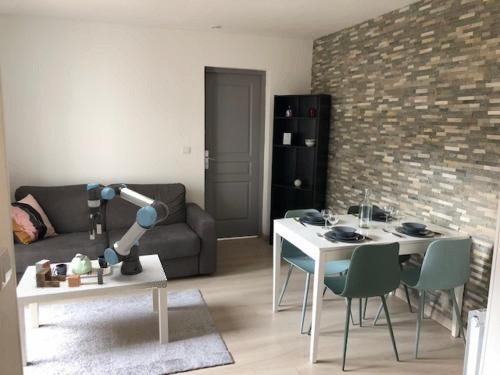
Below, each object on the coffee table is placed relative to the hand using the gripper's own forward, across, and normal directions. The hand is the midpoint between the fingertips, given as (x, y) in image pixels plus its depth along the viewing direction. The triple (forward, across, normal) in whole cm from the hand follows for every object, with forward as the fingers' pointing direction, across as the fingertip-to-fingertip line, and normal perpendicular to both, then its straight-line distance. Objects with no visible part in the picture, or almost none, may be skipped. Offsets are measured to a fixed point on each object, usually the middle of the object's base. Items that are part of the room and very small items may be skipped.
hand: (96, 236), depth 284 cm
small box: (+27, +5, -35) cm, 44 cm away
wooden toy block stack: (+27, +18, -24) cm, 40 cm away
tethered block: (+27, +19, -1) cm, 33 cm away
